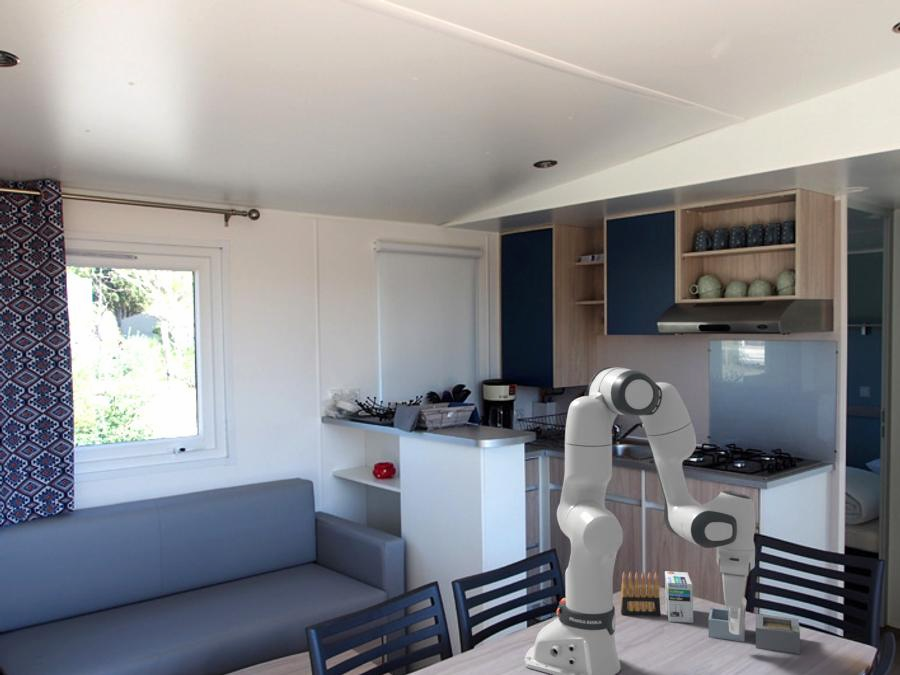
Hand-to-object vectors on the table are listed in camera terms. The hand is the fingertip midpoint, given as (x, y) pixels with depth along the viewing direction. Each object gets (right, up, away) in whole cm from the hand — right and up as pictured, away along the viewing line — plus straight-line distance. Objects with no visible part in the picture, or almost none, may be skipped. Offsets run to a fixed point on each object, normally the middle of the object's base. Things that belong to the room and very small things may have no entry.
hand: (734, 614), depth 180 cm
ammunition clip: (-17, -10, +25) cm, 32 cm away
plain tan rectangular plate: (+13, -6, +5) cm, 15 cm away
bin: (+3, -9, +11) cm, 15 cm away
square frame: (+13, -9, +5) cm, 16 cm away
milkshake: (0, -5, 0) cm, 5 cm away
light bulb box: (-6, -10, +24) cm, 27 cm away
